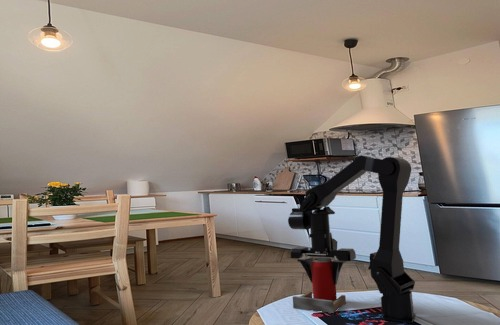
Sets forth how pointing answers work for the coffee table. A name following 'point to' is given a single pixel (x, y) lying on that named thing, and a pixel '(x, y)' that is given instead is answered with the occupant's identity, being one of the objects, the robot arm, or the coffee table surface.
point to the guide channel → (317, 303)
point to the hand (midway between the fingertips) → (323, 283)
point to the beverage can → (323, 279)
